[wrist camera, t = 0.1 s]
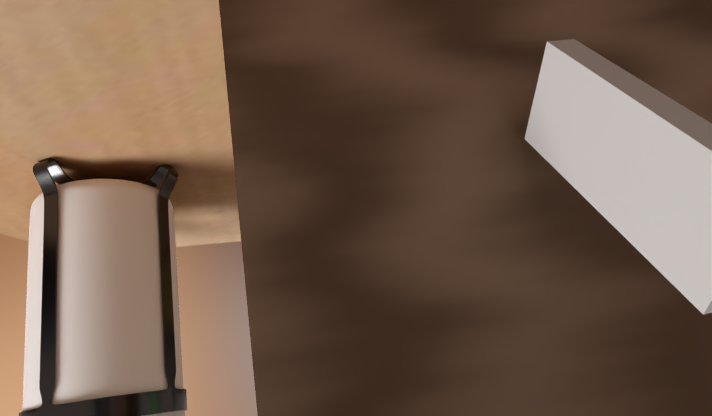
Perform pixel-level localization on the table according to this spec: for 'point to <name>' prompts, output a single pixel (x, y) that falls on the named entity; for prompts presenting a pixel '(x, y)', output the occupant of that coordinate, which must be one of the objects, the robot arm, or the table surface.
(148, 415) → the coffee press
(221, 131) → the table surface
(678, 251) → the robot arm
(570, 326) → the walnut post
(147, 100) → the table surface
